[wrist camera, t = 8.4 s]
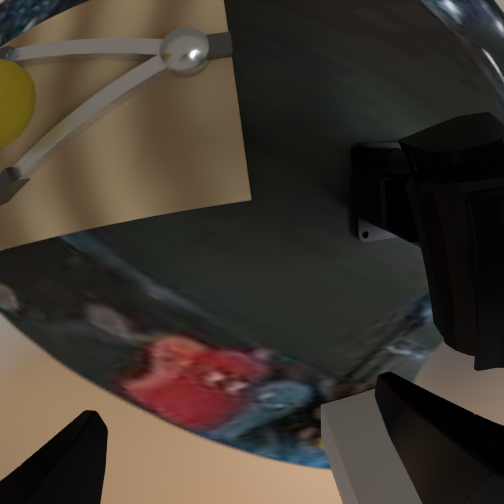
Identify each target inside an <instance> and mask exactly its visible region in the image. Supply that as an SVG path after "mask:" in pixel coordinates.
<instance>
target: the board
mask: <svg viewBox="0 0 504 504" xmlns="http://www.w3.org/2000/svg"><path fill="white" fill-rule="evenodd" d="M185 27H190V28H195V29H198V30H200V31H201V32H203V33H204V34H205V35H207V34H214V33H222V32H228V27H227V20H226V13H225V6H224V0H90V1H87V2H85V3H82V4H80V5H78V6H75V7H73V8H71V9H68V10H66V11H64V12H62V13H60V14H58V15H56V16H54V17H52V18H50V19H48V20H46V21H44V22H42V23H40V24H38V25H36V26H34V27H33V28H31V29H29V30H27V31H25V32H24V33H22V34H20V35H19V36H17V37H15V38H14V39H12V40H11V41H9V42H7V43H6V44H4V45H3V46H1V47H0V48H2V47H6V46H11V47H13V48H20V47H26V46H31V45H37V44H44V43H51V42H59V41H68V40H80V39H96V38H148V39H164V38H165V37H166V36H167V35H168V34H169V33H171V32H172V31H174V30H176V29H179V28H185ZM142 63H144V61H121V60H89V61H66V62H53V63H43V64H34V65H26V66H22V68H23V69H24V70H26V71H27V72H28V74H29V75H30V77H31V79H32V81H33V83H34V86H35V91H36V104H35V109H34V113H33V115H32V118H31V120H30V122H29V124H28V126H27V128H26V129H25V130H24V132H23V133H22V134H21V135H20V136H19V137H18V138H17V139H16V140H15V141H14V142H13V143H11V144H10V145H8V146H6V147H4V148H2V149H0V174H1V172H2V171H3V170H4V169H5V168H8V167H13V166H14V165H15V164H16V163H17V162H18V161H19V160H20V159H21V158H22V157H23V156H24V155H25V154H26V153H27V152H28V151H29V150H30V149H31V148H32V147H33V146H34V145H35V144H36V143H37V142H38V141H40V140H41V139H42V138H43V137H44V136H45V135H46V134H47V133H48V132H49V131H51V130H52V129H53V128H54V127H55V126H56V125H57V124H59V123H60V122H61V121H62V120H63V119H64V118H66V117H67V116H68V115H69V114H71V113H72V112H73V111H74V110H76V109H77V108H78V107H79V106H81V105H82V104H83V103H85V102H86V101H87V100H89V99H90V98H91V97H93V96H94V95H95V94H97V93H98V92H99V91H101V90H102V89H104V88H105V87H107V86H108V85H110V84H111V83H112V82H114V81H115V80H117V79H118V78H120V77H122V76H123V75H125V74H126V73H128V72H129V71H131V70H133V69H134V68H136V67H137V66H139V65H141V64H142ZM249 200H251V194H250V186H249V179H248V172H247V164H246V157H245V149H244V142H243V135H242V127H241V120H240V113H239V105H238V98H237V91H236V84H235V77H234V69H233V62H232V57H230V58H221V59H214V60H210V61H209V64H208V66H207V67H206V68H205V70H204V71H202V72H201V73H200V74H198V75H196V76H193V77H188V78H182V77H178V76H175V75H173V74H172V75H170V76H168V77H167V78H165V79H163V80H161V81H160V82H158V83H156V84H154V85H153V86H151V87H149V88H148V89H146V90H144V91H143V92H141V93H139V94H138V95H136V96H135V97H133V98H132V99H130V100H128V101H127V102H125V103H124V104H122V105H121V106H119V107H118V108H116V109H115V110H113V111H112V112H111V113H109V114H108V115H106V116H105V117H103V118H102V119H101V120H99V121H98V122H97V123H95V124H94V125H93V126H91V127H90V128H89V129H87V130H86V131H85V132H83V133H82V134H81V135H80V136H78V137H77V138H76V139H74V140H73V141H72V142H71V143H70V144H68V145H67V146H66V147H65V148H64V149H62V150H61V151H60V152H59V153H58V154H57V155H55V156H54V157H53V158H52V159H51V160H50V161H49V162H47V163H46V164H45V165H44V166H43V167H42V168H41V169H40V170H39V171H38V172H37V173H36V174H35V175H33V176H32V177H31V179H30V180H29V181H28V182H27V183H26V184H25V185H24V186H23V187H22V188H21V189H20V190H19V191H18V192H17V193H16V194H15V195H14V196H13V197H12V198H11V200H10V201H9V202H8V203H7V204H3V205H0V251H1V250H4V249H8V248H12V247H15V246H19V245H23V244H27V243H31V242H35V241H39V240H43V239H47V238H51V237H56V236H60V235H64V234H69V233H73V232H77V231H82V230H86V229H91V228H96V227H100V226H105V225H110V224H115V223H120V222H125V221H130V220H135V219H140V218H146V217H151V216H156V215H162V214H167V213H173V212H179V211H185V210H191V209H197V208H203V207H209V206H215V205H222V204H228V203H235V202H242V201H249Z"/></svg>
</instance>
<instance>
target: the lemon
mask: <svg viewBox="0 0 504 504" xmlns="http://www.w3.org/2000/svg"><path fill="white" fill-rule="evenodd" d="M35 104H36V91H35V86H34V83H33V81H32V79H31V77H30V75H29V74H28V72H27V71H26V70H24V69H23V68H22V67H21V66H20V65H18V64H17V63H15V62H12V61H8V60H4V59H0V149H2V148H4V147H6V146H8V145H10V144H11V143H13V142H14V141H15V140H16V139H17V138H18V137H19V136H20V135H21V134H22V133H23V132H24V130H25V129H26V128H27V126H28V124H29V122H30V120H31V118H32V115H33V113H34V109H35Z"/></svg>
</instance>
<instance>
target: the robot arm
mask: <svg viewBox="0 0 504 504" xmlns="http://www.w3.org/2000/svg"><path fill="white" fill-rule="evenodd" d="M398 142H399V143H358V144H354V145H353V146H352V147H351V159H352V170H353V174H352V175H351V176H350V182H351V195H352V212H353V215H354V216H356V235H357V238H358V239H359V240H361V241H362V242H369V241H376V240H382V239H388V238H394V237H400V238H402V239H404V240H406V241H408V242H411V243H413V244H415V245H417V246H419V247H421V250H422V254H423V259H424V264H425V269H426V275H427V280H428V286H429V292H430V298H431V305H432V313H433V321H434V324H435V326H436V327H437V329H438V330H439V332H440V334H441V335H442V336H443V337H444V342H445V344H447V345H448V346H450V347H451V348H453V349H454V350H456V351H459V352H461V353H464V354H467V355H470V356H475V360H474V369H475V370H477V371H481V370H487V369H492V368H504V125H503V124H502V123H501V122H500V121H499V120H498V119H497V118H495V117H494V116H493V115H492V114H491V113H489V112H485V113H477V114H470V115H464V116H458V117H455V118H452V119H450V120H447V121H444V122H442V123H439V124H437V125H434V126H432V127H429V128H427V129H424V130H422V131H419V132H417V133H415V134H412V135H410V136H407V137H405V138H402V139H400V140H398ZM357 148H360V149H361V153H360V155H359V154H358V153H357ZM364 231H366V235H365V236H364V237H362V233H363V232H364ZM375 399H376V402H377V405H378V408H379V410H380V413H381V416H382V418H383V421H384V424H385V427H386V430H387V432H388V435H389V437H390V439H391V441H392V443H393V445H394V447H395V449H396V451H397V453H398V455H399V457H400V459H401V461H402V463H403V465H404V467H405V469H406V471H407V473H408V475H409V477H410V479H411V481H412V483H413V485H414V488H415V490H416V492H417V494H418V496H419V498H420V500H421V502H422V504H504V426H503V425H500V424H497V423H495V422H492V421H490V420H488V419H486V418H483V417H481V416H479V415H477V414H475V415H474V413H473V412H470V411H468V410H466V409H464V408H462V407H460V406H458V405H456V404H454V403H452V402H450V401H448V400H446V399H444V398H441V397H439V396H437V395H435V394H433V393H431V392H429V391H427V390H425V389H423V388H421V387H419V386H418V385H416V384H414V383H412V382H410V381H408V380H406V379H404V378H402V377H400V376H398V375H396V374H394V373H392V372H386V373H383V374H380V375H378V377H377V381H376V387H375ZM107 438H108V430H107V426H106V425H105V423H104V422H103V420H102V419H101V417H100V415H99V414H98V412H96V411H91V410H86V411H84V412H83V413H81V414H80V415H79V416H78V417H77V418H75V419H74V420H73V421H72V422H71V423H70V424H68V425H67V426H66V427H65V428H64V429H62V430H61V431H60V432H59V433H58V434H57V435H55V436H54V437H53V438H52V439H51V440H50V441H48V442H47V443H46V444H45V445H44V446H42V447H41V448H40V449H39V450H38V451H37V452H35V453H34V454H33V455H32V456H31V457H30V458H28V459H27V460H26V461H25V462H23V463H22V465H21V466H19V467H18V468H16V469H15V470H14V471H13V472H11V473H10V474H9V475H8V476H6V477H5V478H4V479H2V480H1V481H0V504H100V501H101V495H102V488H103V481H104V475H105V466H106V452H107Z"/></svg>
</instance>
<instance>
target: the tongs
mask: <svg viewBox="0 0 504 504" xmlns="http://www.w3.org/2000/svg"><path fill="white" fill-rule="evenodd" d="M230 57H233V48H232V41H231V34H230V32H222V33H214V34H207V35H205V34H204V33H203V32H201V31H200V30H198V29H195V28H190V27H185V28H179V29H176V30H174V31H172V32H171V33H169V34H168V35H167V36H166V37H165V38H164V39H148V38H96V39H80V40H68V41H59V42H51V43H44V44H37V45H31V46H26V47H20V48H13V47H11V46H6V47H2V48H0V59H4V60H8V61H12V62H15V63H17V64H18V65H20V66H21V67H22V66H26V65H34V64H43V63H53V62H66V61H89V60H121V61H144V63H142V64H141V65H139V66H137V67H136V68H134V69H133V70H131V71H129V72H128V73H126V74H125V75H123V76H122V77H120V78H118V79H117V80H115V81H114V82H112V83H111V84H110V85H108V86H107V87H105V88H104V89H102V90H101V91H99V92H98V93H97V94H95V95H94V96H93V97H91V98H90V99H89V100H87V101H86V102H85V103H83V104H82V105H81V106H79V107H78V108H77V109H76V110H74V111H73V112H72V113H71V114H69V115H68V116H67V117H66V118H64V119H63V120H62V121H61V122H60V123H59V124H57V125H56V126H55V127H54V128H53V129H52V130H51V131H49V132H48V133H47V134H46V135H45V136H44V137H43V138H42V139H41V140H40V141H38V142H37V143H36V144H35V145H34V146H33V147H32V148H31V149H30V150H29V151H28V152H27V153H26V154H25V155H24V156H23V157H22V158H21V159H20V160H19V161H18V162H17V163H16V164H15V165H14V166H13V167H8V168H5V169H4V170H3V171H2V172H1V174H0V205H3V204H7V203H8V202H9V201H10V200H11V198H12V197H13V196H14V195H15V194H16V193H17V192H18V191H19V190H20V189H21V188H22V187H23V186H24V185H25V184H26V183H27V182H28V181H29V180H30V179H31V177H32V176H33V175H35V174H36V173H37V172H38V171H39V170H40V169H41V168H42V167H43V166H44V165H45V164H46V163H47V162H49V161H50V160H51V159H52V158H53V157H54V156H55V155H57V154H58V153H59V152H60V151H61V150H62V149H64V148H65V147H66V146H67V145H68V144H70V143H71V142H72V141H73V140H74V139H76V138H77V137H78V136H80V135H81V134H82V133H83V132H85V131H86V130H87V129H89V128H90V127H91V126H93V125H94V124H95V123H97V122H98V121H99V120H101V119H102V118H103V117H105V116H106V115H108V114H109V113H111V112H112V111H113V110H115V109H116V108H118V107H119V106H121V105H122V104H124V103H125V102H127V101H128V100H130V99H132V98H133V97H135V96H136V95H138V94H139V93H141V92H143V91H144V90H146V89H148V88H149V87H151V86H153V85H154V84H156V83H158V82H160V81H161V80H163V79H165V78H167V77H168V76H170V75H172V74H173V75H175V76H178V77H182V78H188V77H193V76H196V75H198V74H200V73H201V72H202V71H204V70H205V68H206V67H207V66H208V64H209V61H210V60H214V59H221V58H230Z"/></svg>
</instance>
